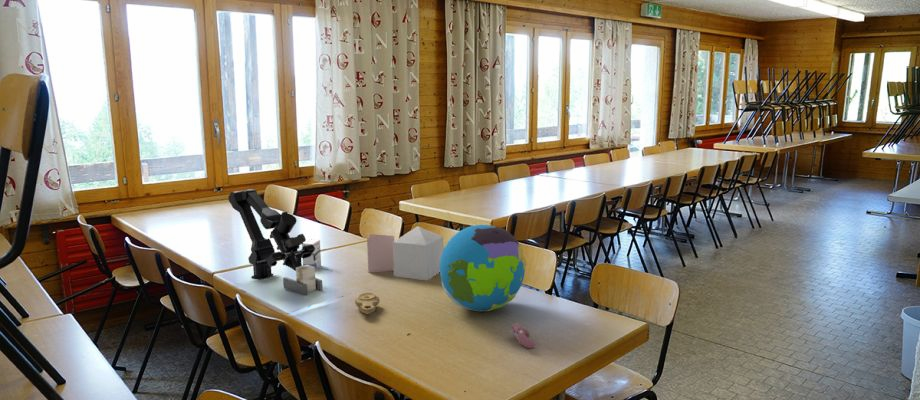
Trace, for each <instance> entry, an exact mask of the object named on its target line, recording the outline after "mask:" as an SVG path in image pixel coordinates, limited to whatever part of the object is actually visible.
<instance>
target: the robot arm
mask: <svg viewBox="0 0 920 400" xmlns="http://www.w3.org/2000/svg"><path fill="white" fill-rule="evenodd" d="M228 202H229V203H230V206H231V207H232V209H234V210H235V211H237V213H239V214H240V218H241V220H242V222H243V224H244V227H245V229H246V231H247V234H248V236H249V238H250V240H251V247H250V254H249V256H248V263H249V264H250V265H252V266H253V269H252V271H253V275H251V279H259V280H264V279H267V278H269V277H272V276H274V273H272V267H275V266H277V264H278V262H279V261H282V262H283V263H282V265H283V266H287V267H288V268H290V269H292V270H293V271H295V272H296V267H300V266H303V262H302V260H303V259H304V258H308V257H310V256H311V255H312V253H313V252H314V250H315V247H314V246H313V245H312V244H310V245H305V246H303V248H302V247H301V249H300V245H301V246H302V244H303V242H305V241H307V240H306V236H305V235H304V233H300V234H297V236H294V237H293V236H292V237H291V235H290V233H291V232H292V230H293V228H294V227H295V225H296V223H297V222H298V221H297V218H296V217H295V216H294V214H291V213H288V211H282V212H281V213H280V212H278V211H277V210H276V209H273V208H271V207H269V206H268V204H267V203H266V202H265V201H264V200H263V199H262V197H261V196H260V195H259V194H258V191H257V190H256V189H255V188H254V189H253V188H250V189H242V190H235V191H231V192H230V194H229V195H228ZM252 208H253V209H252ZM253 210H254V211H255V212H256V214H257V215H258V216H259V218H260V221H259V222H260V224H261V225H262V227H263V228H264V229H265V230H271V229H272V231H270V233H269V238H265V237H264V235H263V233H262V230H261V227H260V226H259V223H258V222H257V219H256V217H255V215H254V212H253ZM271 239H273V240H274V243H275V244H276V246H277V247H276V250H277V252H275V248H274V246H273V243H272V241H271Z"/></svg>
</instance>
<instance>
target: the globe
mask: <svg viewBox="0 0 920 400" xmlns="http://www.w3.org/2000/svg"><path fill="white" fill-rule="evenodd" d="M523 252H524V248H522V245H521V244H520V243H519V241H518V240H517V239H516V237H515V236H513V234H511V232H509V231H508V230H507V229H505V228H503V227H499V226H493V225H489V224H476V225H471V226H467V227H465V228H463V229H462V230H460V231H458V232H457V233H455V234H454V235H452V237H451V238H450V239H449V240H448V241H447V243H446V244H445V246H444V247H443V252H442V255H441V259H440V273H439V275H440V280H441V287H442V289H443V291H444V292H445V293H444V294H446V295H447V297H448V298H449V299H450V300H451V301H452V302H453V303H454V304H455V305H457V306H459V307H461V308H463V309H466V310H470V311H473V312H474V311H475V312H490V311H494V310H496V309H500V308H503V307H504V306H505V305H507V304H508V303H509V302H512V301H513V299H515V297H516V296H517V293H518V292H519V291H520V289H521V287H522V284H523V281H524V279H525V273H526V268H527V266H526V265H527V261H526V259H525V256H524V253H523Z"/></svg>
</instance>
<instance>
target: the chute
mask: <svg viewBox="0 0 920 400" xmlns="http://www.w3.org/2000/svg"><path fill="white" fill-rule="evenodd" d="M282 281H283V284H282V285H283V288H284V289H286V290H288V291H292V292H295V293H297V294H299V295H303V296H308V293H309V292H307V284H304V283H301V282H298V281H297V280H296V279H293V278H290V277H288V276H285V277H282ZM315 283H316V290H315V291H319V292H321V291H323V280H322V279H319V278H316V277H315Z"/></svg>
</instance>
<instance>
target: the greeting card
mask: <svg viewBox="0 0 920 400" xmlns="http://www.w3.org/2000/svg"><path fill="white" fill-rule="evenodd" d="M394 241H395V235H389V234H387V235H385V234H374V233H369V237H367V238H366V242H367V243H366V245H367V246H366V247H367V269H368V270H367V272H368V273H377V272H389V271H394V261H393V242H394Z"/></svg>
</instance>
